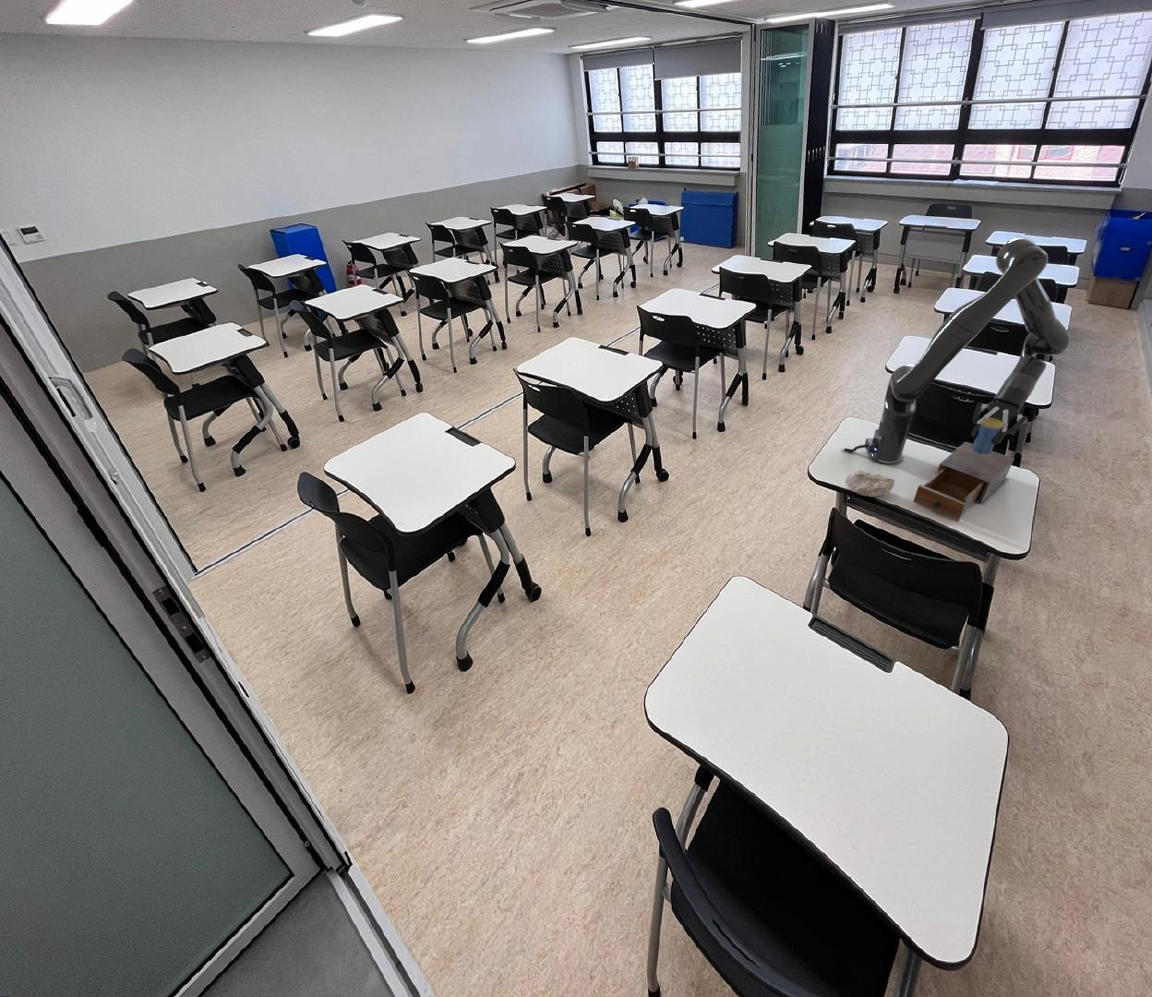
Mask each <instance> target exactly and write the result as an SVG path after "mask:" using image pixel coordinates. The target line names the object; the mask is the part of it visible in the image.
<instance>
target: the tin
mask: <svg viewBox="0 0 1152 997" xmlns="http://www.w3.org/2000/svg"><path fill="white" fill-rule="evenodd" d="M1002 427H1003V422H1002V421H1001V420H998V419H995V418H990V417H989V418H984V419H982V421H981V425H980V428H979V431H978V433H977V436H976V437H975V438H974V441H973V443H972V444H973V446H972V450H973V451H974V452H976V453H979V454H989V453H991V451H993V449H994V448H995V445H994V444H993V441H994V439H995V438H996V436H997V435H998V433H999V432H1001V430H1002Z"/></svg>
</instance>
